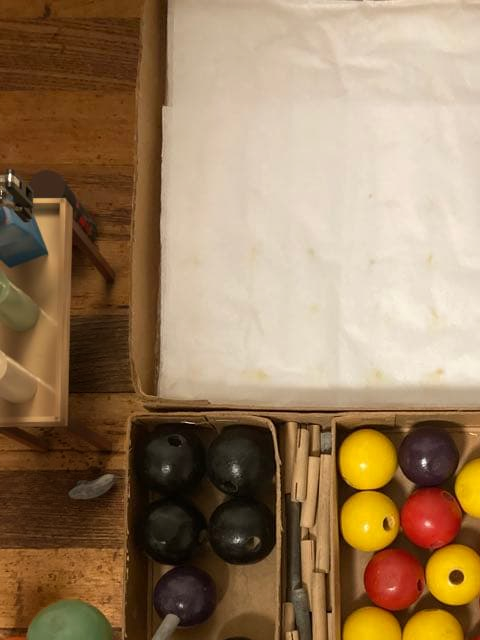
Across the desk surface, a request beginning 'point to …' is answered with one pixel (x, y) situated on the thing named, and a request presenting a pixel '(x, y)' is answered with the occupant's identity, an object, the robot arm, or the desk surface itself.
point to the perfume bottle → (19, 238)
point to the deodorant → (56, 187)
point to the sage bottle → (16, 306)
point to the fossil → (92, 487)
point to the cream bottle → (15, 381)
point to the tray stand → (48, 328)
